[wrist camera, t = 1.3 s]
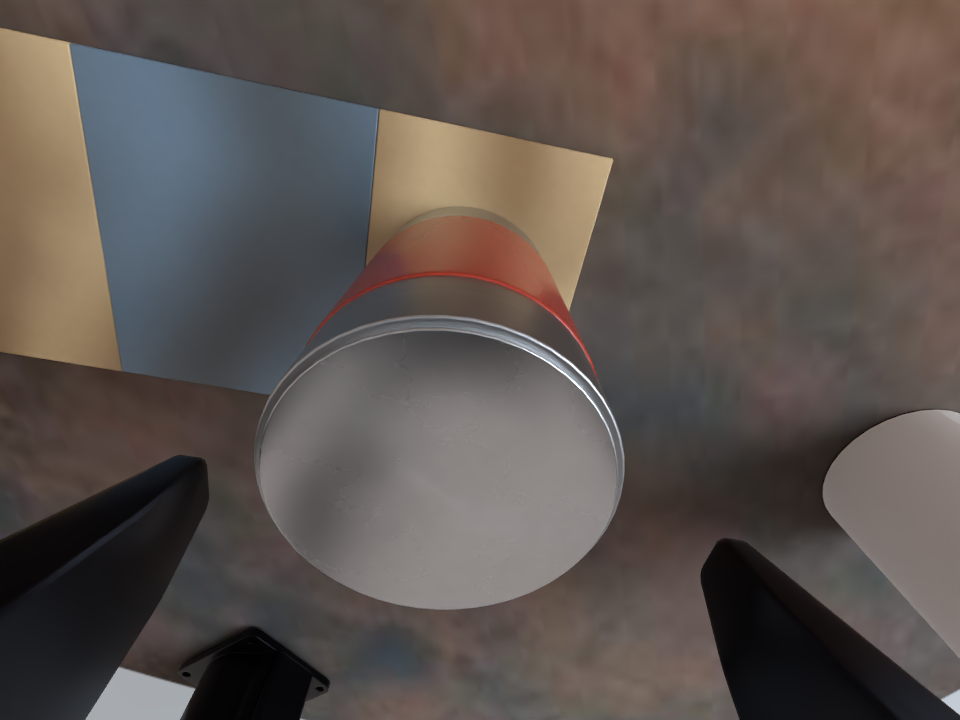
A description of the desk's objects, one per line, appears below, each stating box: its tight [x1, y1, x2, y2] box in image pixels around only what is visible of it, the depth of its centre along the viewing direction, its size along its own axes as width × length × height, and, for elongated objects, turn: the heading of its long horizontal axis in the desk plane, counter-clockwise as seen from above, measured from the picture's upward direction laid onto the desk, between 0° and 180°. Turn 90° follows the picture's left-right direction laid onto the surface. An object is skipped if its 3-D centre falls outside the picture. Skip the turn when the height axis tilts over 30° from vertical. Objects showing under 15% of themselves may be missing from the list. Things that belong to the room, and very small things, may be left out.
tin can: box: [254, 207, 625, 609], centre depth 13 cm, size 6×6×10 cm
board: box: [0, 27, 613, 395], centre depth 17 cm, size 24×11×1 cm, turn 79°
